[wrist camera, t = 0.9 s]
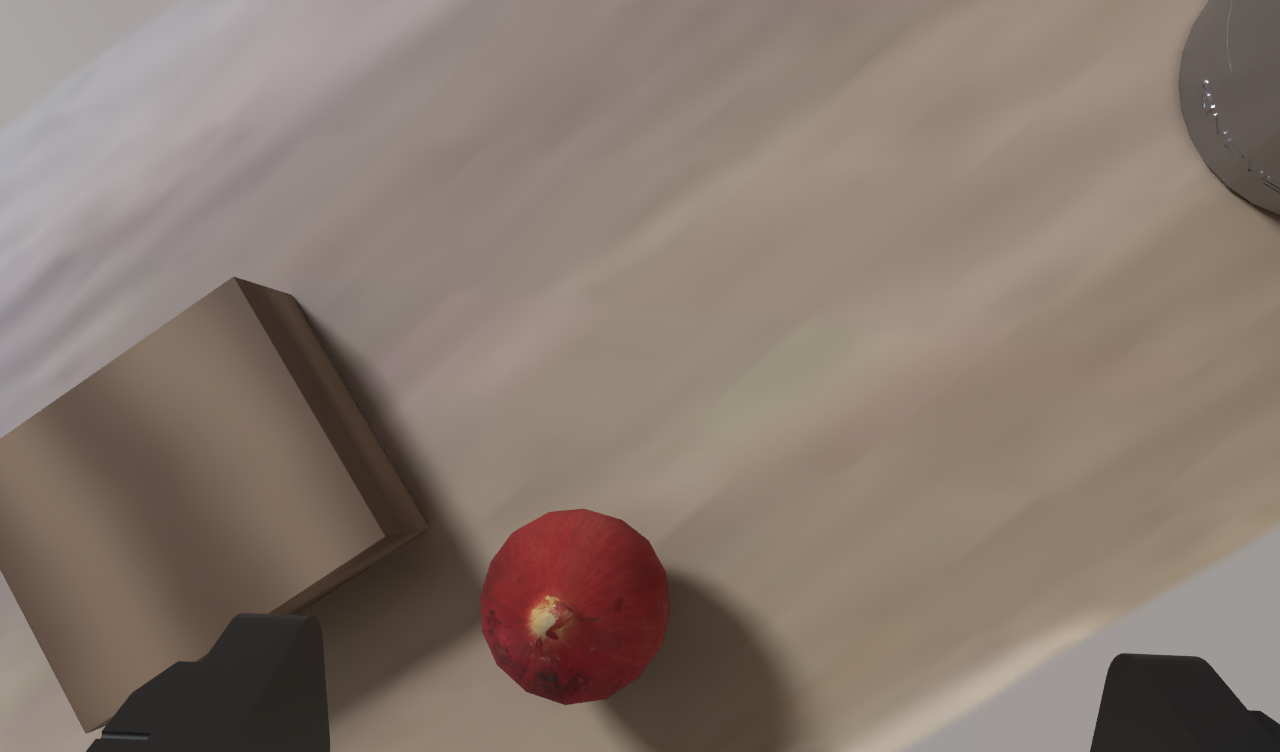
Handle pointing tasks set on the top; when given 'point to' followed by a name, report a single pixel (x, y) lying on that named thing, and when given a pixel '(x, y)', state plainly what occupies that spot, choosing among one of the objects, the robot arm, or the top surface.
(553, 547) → the pomegranate
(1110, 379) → the top surface
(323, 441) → the plinth
